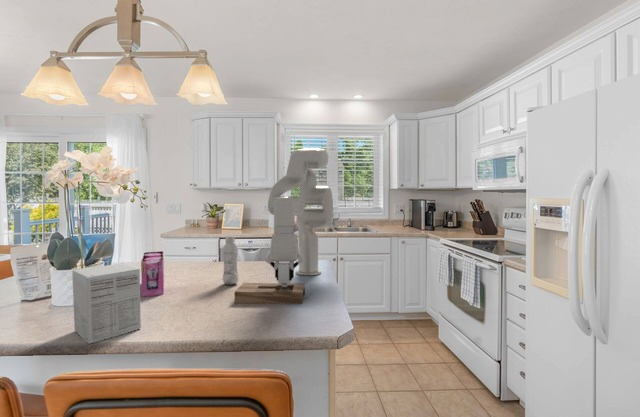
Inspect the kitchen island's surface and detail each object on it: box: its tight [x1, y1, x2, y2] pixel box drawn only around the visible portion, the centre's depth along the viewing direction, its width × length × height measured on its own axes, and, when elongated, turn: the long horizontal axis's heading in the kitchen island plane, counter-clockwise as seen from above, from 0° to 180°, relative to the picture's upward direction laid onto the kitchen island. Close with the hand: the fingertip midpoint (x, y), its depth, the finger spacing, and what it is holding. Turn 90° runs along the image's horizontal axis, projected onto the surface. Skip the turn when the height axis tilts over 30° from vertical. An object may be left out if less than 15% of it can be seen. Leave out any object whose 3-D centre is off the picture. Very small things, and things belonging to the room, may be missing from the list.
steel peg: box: [277, 262, 291, 290], centre depth 124 cm, size 4×4×12 cm
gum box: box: [140, 251, 165, 298], centre depth 138 cm, size 24×8×14 cm, turn 25°
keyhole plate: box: [234, 282, 306, 305], centre depth 125 cm, size 12×24×4 cm, turn 88°
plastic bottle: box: [221, 236, 240, 286], centre depth 144 cm, size 6×7×20 cm
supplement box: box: [71, 263, 142, 345], centre depth 95 cm, size 13×13×18 cm
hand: (284, 279), depth 125 cm, fingers closed on steel peg, 4 cm apart
